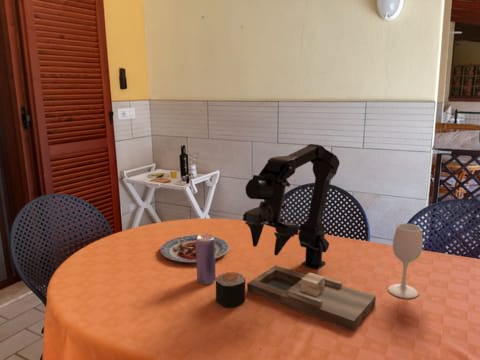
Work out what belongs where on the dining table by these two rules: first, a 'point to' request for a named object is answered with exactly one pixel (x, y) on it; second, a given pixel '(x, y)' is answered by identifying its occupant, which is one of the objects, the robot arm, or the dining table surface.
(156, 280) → the dining table surface
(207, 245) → the beverage can
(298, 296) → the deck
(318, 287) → the block
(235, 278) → the sushi
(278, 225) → the robot arm
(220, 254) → the ceramic plate
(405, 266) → the wineglass
